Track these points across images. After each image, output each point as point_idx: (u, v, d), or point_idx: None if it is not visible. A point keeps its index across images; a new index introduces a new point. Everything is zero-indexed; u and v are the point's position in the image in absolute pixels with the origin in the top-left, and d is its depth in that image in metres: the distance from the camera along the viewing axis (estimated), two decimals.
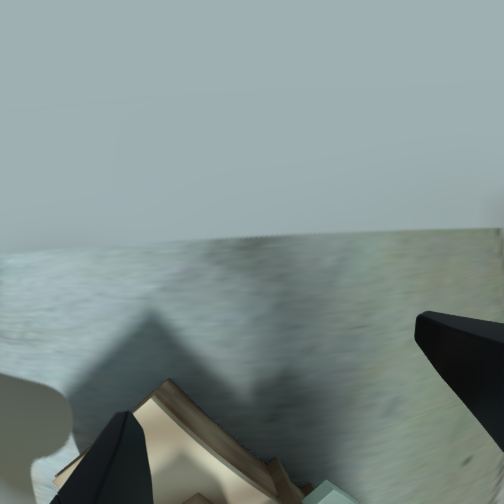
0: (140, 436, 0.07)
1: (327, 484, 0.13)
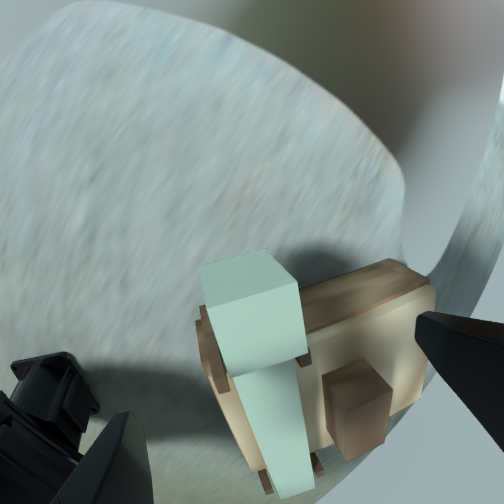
0: (140, 436, 0.07)
1: None
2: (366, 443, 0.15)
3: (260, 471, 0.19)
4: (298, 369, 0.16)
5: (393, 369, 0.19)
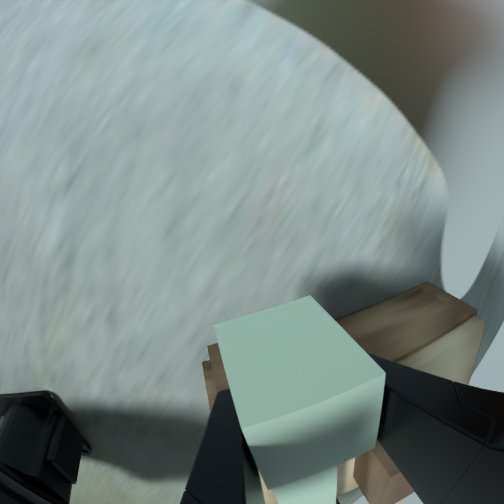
0: None
1: None
2: (400, 495, 0.11)
3: None
4: None
5: None
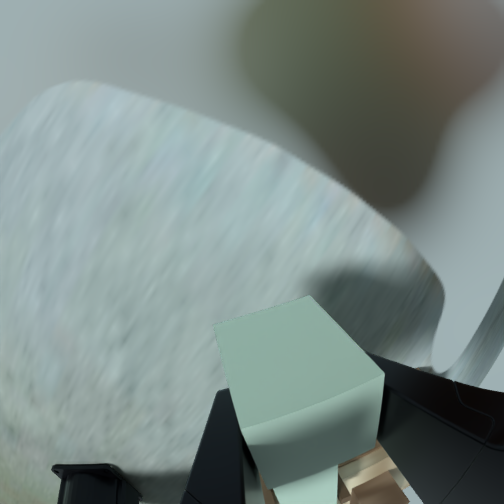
0: None
1: None
2: None
3: None
4: None
5: None
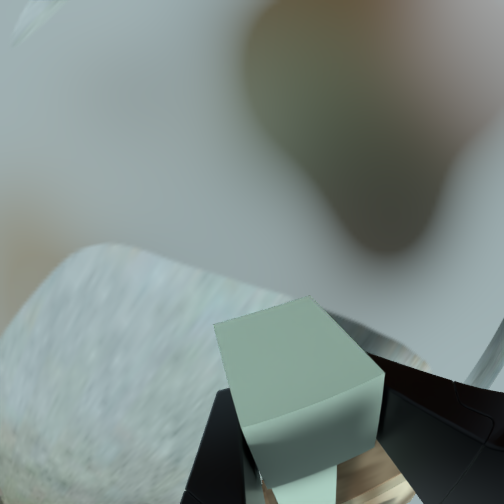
0: None
1: None
2: None
3: None
4: None
5: (393, 500, 0.20)
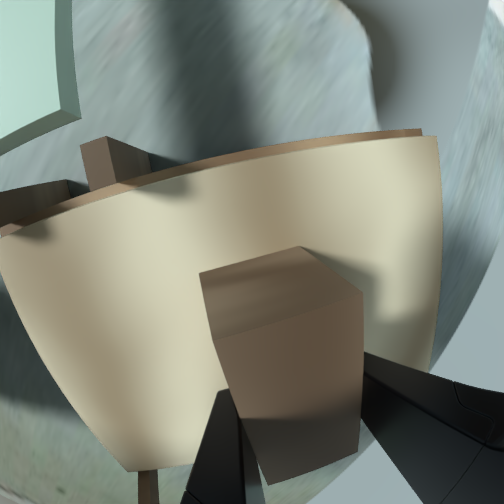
0: None
1: (72, 110, 0.05)
2: (312, 451, 0.07)
3: (141, 473, 0.10)
4: (140, 246, 0.08)
5: (375, 296, 0.10)
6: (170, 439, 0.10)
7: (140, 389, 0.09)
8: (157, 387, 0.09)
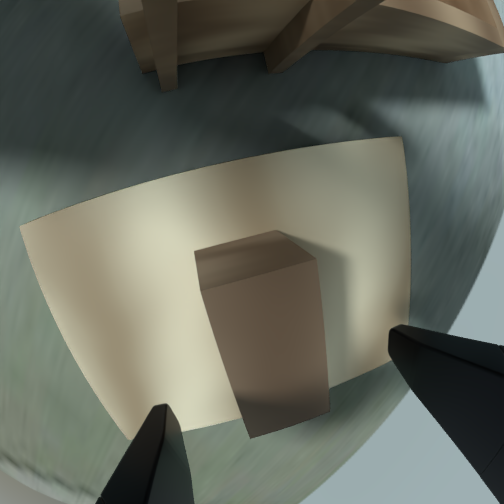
0: (178, 430, 0.07)
1: None
2: (286, 404, 0.09)
3: None
4: (147, 228, 0.10)
5: (346, 275, 0.12)
6: None
7: (143, 353, 0.11)
8: (157, 352, 0.11)
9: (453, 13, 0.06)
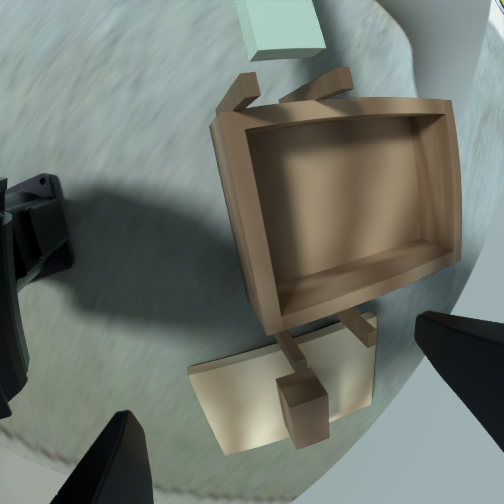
0: (140, 436, 0.07)
1: (316, 51, 0.11)
2: (312, 436, 0.21)
3: (286, 340, 0.16)
4: (256, 373, 0.22)
5: (339, 378, 0.24)
6: (251, 436, 0.24)
7: (245, 417, 0.23)
8: (252, 415, 0.23)
9: (418, 271, 0.18)
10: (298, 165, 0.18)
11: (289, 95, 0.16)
